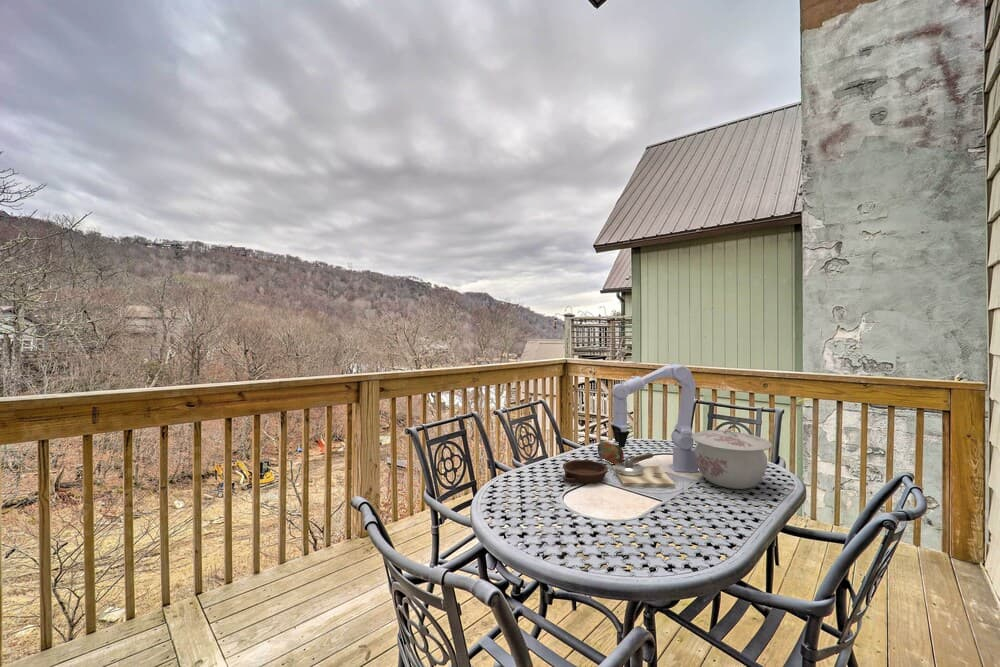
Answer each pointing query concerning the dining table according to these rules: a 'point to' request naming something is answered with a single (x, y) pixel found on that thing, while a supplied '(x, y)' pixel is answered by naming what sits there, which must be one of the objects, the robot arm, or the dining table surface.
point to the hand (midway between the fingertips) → (619, 444)
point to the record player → (646, 478)
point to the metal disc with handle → (632, 465)
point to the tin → (610, 452)
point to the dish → (584, 471)
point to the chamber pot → (731, 457)
